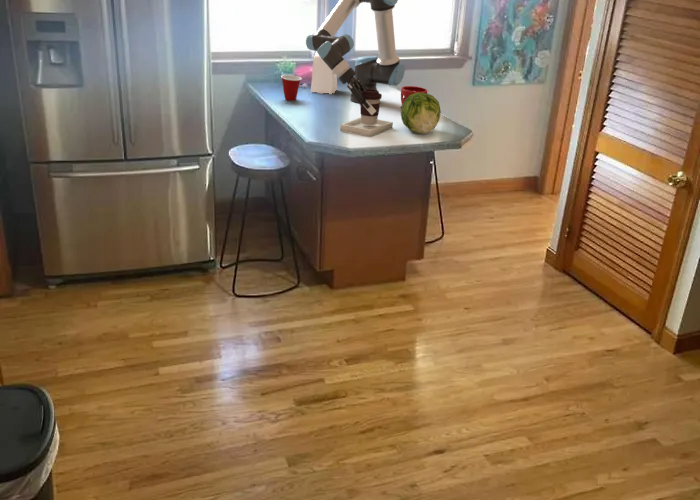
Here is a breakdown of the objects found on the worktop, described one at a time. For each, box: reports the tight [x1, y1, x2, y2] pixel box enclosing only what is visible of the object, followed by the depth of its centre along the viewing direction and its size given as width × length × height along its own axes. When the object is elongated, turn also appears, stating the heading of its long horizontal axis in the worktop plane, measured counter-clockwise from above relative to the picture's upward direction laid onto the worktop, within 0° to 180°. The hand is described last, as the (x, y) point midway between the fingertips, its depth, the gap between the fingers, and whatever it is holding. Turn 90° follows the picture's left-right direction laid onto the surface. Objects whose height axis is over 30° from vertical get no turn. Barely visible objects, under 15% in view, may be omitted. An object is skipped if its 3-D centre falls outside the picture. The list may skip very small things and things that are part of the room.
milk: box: [310, 51, 338, 95], centre depth 398 cm, size 12×12×26 cm
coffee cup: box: [359, 89, 383, 125], centre depth 329 cm, size 10×10×15 cm
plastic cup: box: [280, 74, 303, 102], centre depth 378 cm, size 11×11×12 cm
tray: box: [339, 116, 394, 138], centre depth 331 cm, size 20×16×3 cm
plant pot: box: [400, 85, 428, 110], centre depth 366 cm, size 13×13×12 cm
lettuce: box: [400, 93, 442, 135], centre depth 329 cm, size 18×23×19 cm
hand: (376, 110), depth 329 cm, fingers open, 10 cm apart
